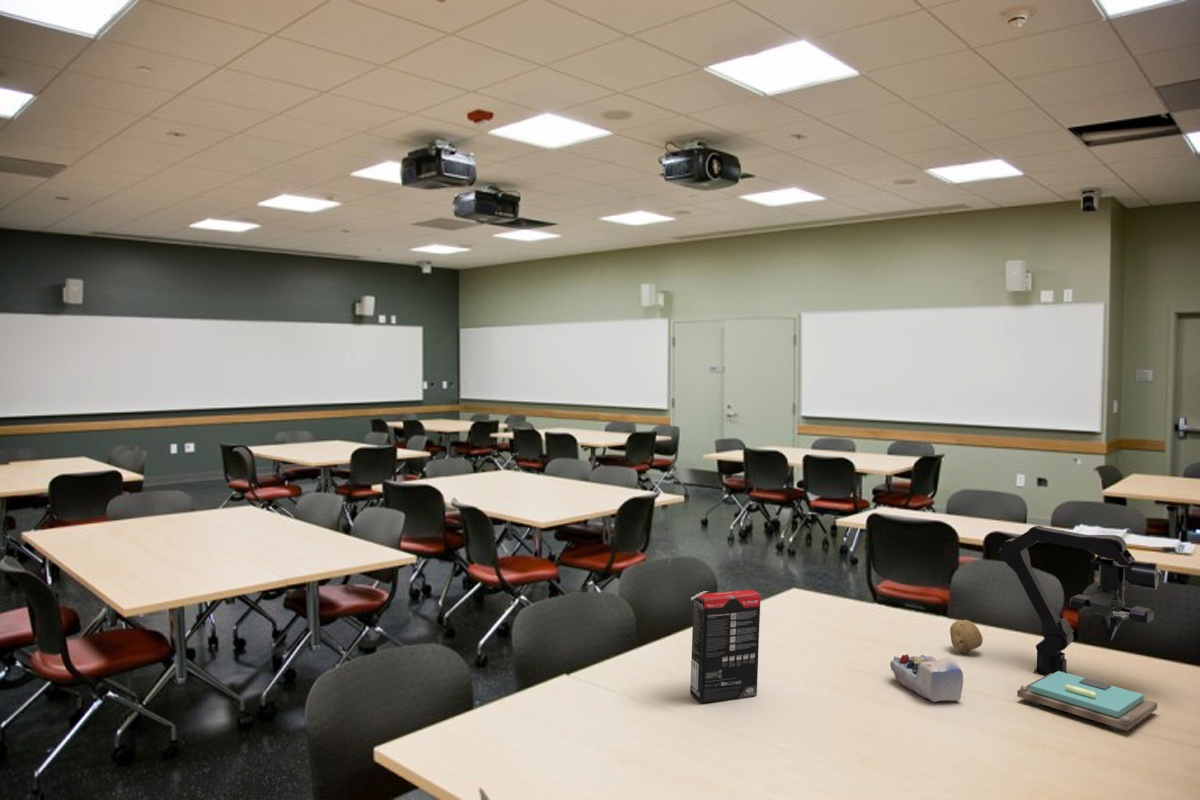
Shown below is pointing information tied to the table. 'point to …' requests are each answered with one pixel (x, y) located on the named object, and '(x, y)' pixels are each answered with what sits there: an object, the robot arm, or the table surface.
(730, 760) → the table surface
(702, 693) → the graphics card box
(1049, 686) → the plate
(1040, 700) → the base
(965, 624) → the potato
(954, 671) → the cell model
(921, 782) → the table surface
